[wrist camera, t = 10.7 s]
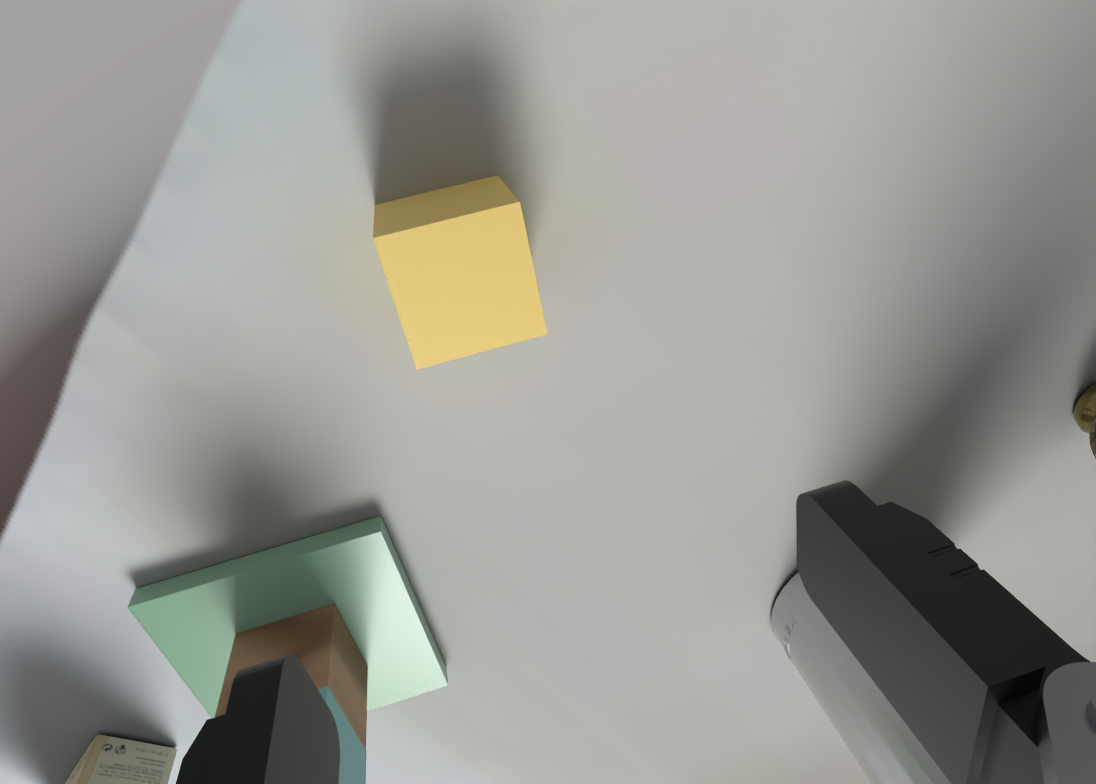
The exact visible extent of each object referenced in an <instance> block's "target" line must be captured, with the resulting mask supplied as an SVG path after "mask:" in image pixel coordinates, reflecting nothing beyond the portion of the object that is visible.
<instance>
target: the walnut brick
mask: <svg viewBox="0 0 1096 784" xmlns="http://www.w3.org/2000/svg"><path fill="white" fill-rule="evenodd" d="M288 654H294V655H296V656H297V657H298V658H299V660H300V661H301V663H302V665H303V666H304V668H305V669H306V671H307V673H308V674H309V676H310V678H311V679H312V681H313V683H314V684H315V686H316V687H317V689H321V688H324V687H328V688H329V690H330V692H331V693H332V695H333V697H334V698H335V700H336V702H337V703H338V705H339V707H340V708H341V710H342V711H343V713H344V715H345V716H346V718H347V720H348V721H349V723H350V725H351V726H352V728H353V730H354V731H355V733H356V735H357V736H358V738H359V740H360V741H361V743H362V745H363V746H364V748H365V750H366V719H367V681H368V665H367V663H366V661H365V659H364V657H363V656H362V654H361V652H360V650H359V648H358V646H357V644H356V642H355V640H354V638H353V636H352V635H351V633H350V631H349V629H348V627H347V625H346V623H345V621H344V619H343V617H342V616H341V614H340V612H339V610H338V608H337V606H336V604H335V603H333V604H330V605H327V606H324V607H320V608H317V609H314V610H311V611H307V612H304V613H301V614H297V615H294V616H291V617H288V618H284V619H281V620H278V621H275V622H271V623H268V624H265V625H262V626H258V627H255V628H252V629H249V630H245V631H242V632H239V633H236V634H235V638H234V642H233V646H232V650H231V654H230V658H229V662H228V666H227V670H226V674H225V678H224V682H223V686H222V690H221V694H220V698H219V702H218V706H217V710H216V714H215V717H218V716H221V715H224V714H225V713H226V709H227V705H228V700H229V696H230V692H231V687H232V683H233V680H234V677H235V675H236V674H237V672H238V671H239V670H241V669H244V668H247V667H250V666H253V665H257V664H260V663H263V662H266V661H269V660H272V659H276V658H279V657H282V656H285V655H288Z"/></svg>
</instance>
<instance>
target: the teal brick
mask: <svg viewBox="0 0 1096 784" xmlns="http://www.w3.org/2000/svg"><path fill="white" fill-rule="evenodd" d="M318 691H319V692H320V694H321V696H322V697H323V699H324V701H325V702H326V704H327V705H328V707H329V709H330V710H331V712H332V714H333V717H334V719H335V722H336V726H337V730H338V735H339V742H340V767H339V784H365V782H366V750H365V748H364V746H363V745H362V743H361V741H360V740H359V738H358V736H357V735H356V733H355V731H354V730H353V728H352V726H351V725H350V723H349V721H348V720H347V718H346V716H345V715H344V713H343V711H342V710H341V708H340V707H339V705H338V703H337V702H336V700H335V698H334V697H333V695H332V693H331V692H330V690H329V688H328V687H324V688H321V689H318Z"/></svg>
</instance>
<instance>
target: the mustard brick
mask: <svg viewBox="0 0 1096 784" xmlns="http://www.w3.org/2000/svg"><path fill="white" fill-rule="evenodd" d="M373 239H374V242H375V245H376V248H377V251H378V254H379V257H380V260H381V263H382V266H383V269H384V272H385V275H386V278H387V281H388V284H389V287H390V290H391V293H392V296H393V300H394V303H395V306H396V309H397V312H398V315H399V318H400V321H401V324H402V327H403V330H404V333H405V336H406V339H407V342H408V345H409V348H410V351H411V354H412V357H413V360H414V363H415V366H416V369H420V368H424V367H428V366H431V365H435V364H439V363H442V362H446V361H450V360H453V359H457V358H461V357H465V356H468V355H472V354H476V353H479V352H483V351H487V350H491V349H494V348H498V347H502V346H505V345H509V344H513V343H516V342H520V341H524V340H528V339H531V338H535V337H539V336H542V335H546V334H547V329H546V324H545V319H544V314H543V310H542V305H541V300H540V295H539V290H538V286H537V281H536V276H535V271H534V266H533V262H532V257H531V252H530V247H529V242H528V238H527V233H526V228H525V223H524V218H523V214H522V209H521V204H520V201H519V200H518V199H517V197H516V196H515V195H514V194H513V193H512V191H511V190H510V189H509V188H508V186H507V185H506V184H505V183H504V182H503V180H502V179H501V178H500V177H499V176H498V175H496V176H491V177H487V178H483V179H479V180H475V181H471V182H467V183H463V184H459V185H454V186H450V187H446V188H442V189H438V190H434V191H430V192H426V193H422V194H417V195H413V196H409V197H405V198H401V199H397V200H393V201H389V202H385V203H380V204H376V205H375V210H374V231H373Z"/></svg>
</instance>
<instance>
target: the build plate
mask: <svg viewBox="0 0 1096 784" xmlns="http://www.w3.org/2000/svg"><path fill="white" fill-rule="evenodd" d="M333 603H335V604H336V606H337V608H338V610H339V612H340V614H341V616H342V617H343V619H344V621H345V623H346V625H347V627H348V629H349V631H350V633H351V635H352V636H353V638H354V640H355V642H356V644H357V646H358V648H359V650H360V652H361V654H362V656H363V657H364V659H365V661H366V663H367V665H368V681H367V711H370V710H374V709H377V708H380V707H383V706H386V705H389V704H392V703H395V702H398V701H401V700H404V699H407V698H411V697H414V696H417V695H420V694H423V693H426V692H429V691H432V690H435V689H438V688H441V687H444V686H448V679H447V669H446V666H445V664H444V661H443V659H442V657H441V654H440V652H439V650H438V647H437V645H436V643H435V640H434V638H433V636H432V633H431V631H430V629H429V626H428V624H427V622H426V619H425V617H424V615H423V613H422V610H421V608H420V606H419V603H418V601H417V599H416V596H415V594H414V592H413V589H412V587H411V585H410V582H409V580H408V578H407V575H406V573H405V571H404V568H403V566H402V564H401V561H400V559H399V557H398V554H397V552H396V550H395V547H394V545H393V543H392V541H391V538H390V536H389V534H388V531H387V529H386V527H385V524H384V522H383V520H382V517H381V516H379V517H375V518H372V519H368V520H365V521H362V522H358V523H355V524H352V525H348V526H345V527H342V528H338V529H335V530H331V531H328V532H325V533H321V534H318V535H315V536H311V537H308V538H305V539H301V540H298V541H294V542H291V543H288V544H284V545H281V546H278V547H274V548H271V549H267V550H264V551H261V552H257V553H254V554H251V555H247V556H244V557H241V558H237V559H234V560H230V561H227V562H224V563H220V564H217V565H214V566H210V567H207V568H204V569H200V570H197V571H193V572H190V573H187V574H183V575H180V576H177V577H173V578H170V579H167V580H163V581H160V582H156V583H153V584H150V585H146V586H143V587H140V588H136V589H135V592H134V594H133V596H132V598H131V601H130V603H129V605H128V609H129V610H130V611H131V613H132V614H133V615H134V617H135V618H136V619H137V620H138V622H139V623H140V624H141V626H142V627H143V628H144V630H145V631H146V632H147V634H148V635H149V636H150V637H151V639H152V640H153V641H154V643H155V644H156V645H157V647H158V648H159V649H160V651H161V652H162V653H163V655H164V656H165V657H166V658H167V660H168V661H169V662H170V664H171V665H172V666H173V668H174V669H175V670H176V672H177V673H178V674H179V676H180V677H181V678H182V679H183V681H184V682H185V683H186V685H187V686H188V687H189V689H190V690H191V691H192V693H193V694H194V695H195V696H196V698H197V699H198V700H199V702H200V703H201V704H202V706H203V707H204V708H205V710H206V711H207V712H208V714H209V715H210V716H211V717H212V718H215V714H216V710H217V706H218V702H219V698H220V694H221V690H222V686H223V682H224V678H225V674H226V670H227V666H228V662H229V658H230V654H231V650H232V646H233V642H234V638H235V634H236V633H239V632H242V631H245V630H249V629H252V628H255V627H258V626H262V625H265V624H268V623H271V622H275V621H278V620H281V619H284V618H288V617H291V616H294V615H297V614H301V613H304V612H307V611H311V610H314V609H317V608H320V607H324V606H327V605H330V604H333Z"/></svg>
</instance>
